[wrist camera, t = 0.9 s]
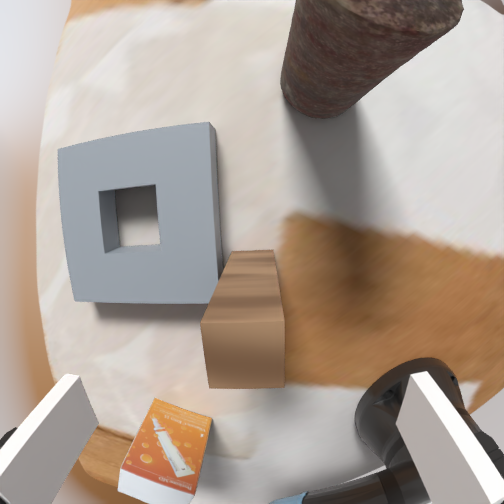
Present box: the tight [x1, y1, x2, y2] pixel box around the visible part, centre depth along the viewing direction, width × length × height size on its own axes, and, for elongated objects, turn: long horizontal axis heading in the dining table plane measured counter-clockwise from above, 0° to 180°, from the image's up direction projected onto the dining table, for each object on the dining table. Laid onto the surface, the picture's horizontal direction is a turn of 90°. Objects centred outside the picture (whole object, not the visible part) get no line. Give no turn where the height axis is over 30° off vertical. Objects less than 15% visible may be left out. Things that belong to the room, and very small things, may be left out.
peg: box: [200, 250, 285, 389], centre depth 22 cm, size 4×4×16 cm
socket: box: [58, 122, 223, 304], centre depth 27 cm, size 16×16×4 cm
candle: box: [280, 0, 464, 118], centre depth 16 cm, size 8×7×20 cm
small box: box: [118, 398, 212, 504], centre depth 29 cm, size 8×6×13 cm
